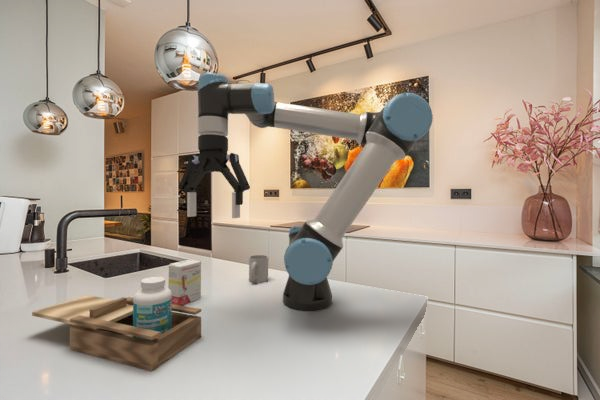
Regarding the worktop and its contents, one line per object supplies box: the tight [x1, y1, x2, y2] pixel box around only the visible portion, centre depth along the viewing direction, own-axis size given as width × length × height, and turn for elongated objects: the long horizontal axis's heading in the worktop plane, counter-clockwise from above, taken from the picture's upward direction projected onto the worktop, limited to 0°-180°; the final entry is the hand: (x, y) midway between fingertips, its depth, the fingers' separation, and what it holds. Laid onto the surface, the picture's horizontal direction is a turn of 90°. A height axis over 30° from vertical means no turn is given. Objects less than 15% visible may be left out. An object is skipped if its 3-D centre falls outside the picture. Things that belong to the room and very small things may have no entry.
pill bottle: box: [132, 276, 173, 341], centre depth 63 cm, size 8×7×14 cm
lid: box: [31, 294, 133, 330], centre depth 69 cm, size 20×12×3 cm, turn 71°
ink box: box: [167, 259, 202, 306], centre depth 90 cm, size 9×5×12 cm, turn 151°
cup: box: [248, 254, 269, 284], centre depth 110 cm, size 7×10×9 cm
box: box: [69, 296, 202, 372], centre depth 64 cm, size 22×14×6 cm, turn 71°
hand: (213, 217), depth 77 cm, fingers open, 13 cm apart
